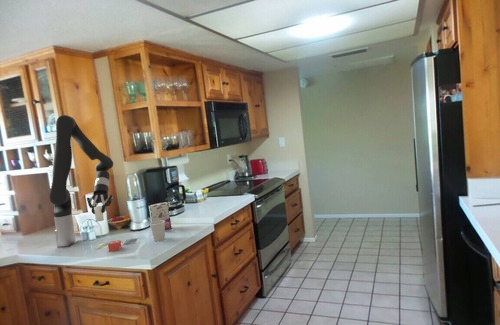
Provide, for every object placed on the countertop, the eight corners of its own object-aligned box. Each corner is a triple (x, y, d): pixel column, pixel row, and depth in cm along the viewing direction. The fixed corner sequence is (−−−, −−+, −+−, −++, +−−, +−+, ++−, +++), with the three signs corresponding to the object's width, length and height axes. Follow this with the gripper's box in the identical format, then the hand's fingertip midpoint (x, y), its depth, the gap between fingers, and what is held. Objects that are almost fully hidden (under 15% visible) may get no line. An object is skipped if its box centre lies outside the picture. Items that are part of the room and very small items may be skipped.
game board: (93, 252, 176) (93, 250, 176) (100, 245, 188) (100, 243, 188) (135, 246, 179) (135, 244, 179) (139, 239, 191) (138, 237, 191)
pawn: (94, 221, 179) (92, 208, 179) (97, 220, 183) (95, 206, 183) (102, 220, 180) (100, 207, 179) (104, 219, 184) (103, 205, 183)
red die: (109, 254, 171) (107, 244, 171) (111, 250, 176) (110, 241, 175) (119, 252, 172) (118, 242, 171) (121, 249, 177) (120, 239, 176)
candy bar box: (169, 227, 212) (166, 201, 211) (171, 228, 208) (168, 202, 207) (151, 231, 207) (148, 205, 206) (153, 233, 203) (149, 206, 202)
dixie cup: (148, 242, 185) (146, 224, 184) (157, 237, 192) (155, 220, 192) (161, 242, 182) (159, 224, 181) (170, 237, 190) (168, 219, 189)
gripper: (86, 184, 187) (81, 210, 176) (112, 181, 189) (110, 207, 178) (90, 192, 193) (86, 218, 182) (116, 189, 195) (113, 214, 184)
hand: (98, 212), depth 180 cm, fingers closed on pawn, 4 cm apart
